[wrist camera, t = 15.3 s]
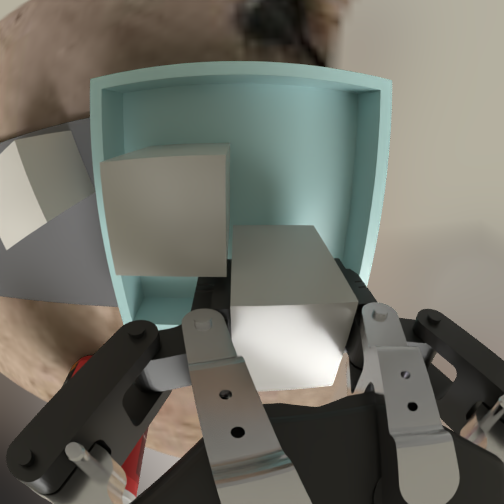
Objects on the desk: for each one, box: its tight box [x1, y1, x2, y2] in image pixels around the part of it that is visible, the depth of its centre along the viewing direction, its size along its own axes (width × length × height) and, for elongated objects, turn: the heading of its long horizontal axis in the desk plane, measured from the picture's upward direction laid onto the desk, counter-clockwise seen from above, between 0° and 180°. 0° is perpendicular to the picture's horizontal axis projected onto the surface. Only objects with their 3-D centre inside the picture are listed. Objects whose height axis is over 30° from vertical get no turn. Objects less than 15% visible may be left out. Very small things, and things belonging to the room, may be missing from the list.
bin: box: [90, 61, 392, 330], centre depth 14 cm, size 13×13×3 cm
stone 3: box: [230, 225, 358, 391], centre depth 12 cm, size 4×4×6 cm
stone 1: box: [0, 130, 96, 250], centre depth 11 cm, size 4×4×5 cm
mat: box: [0, 118, 118, 307], centre depth 15 cm, size 14×12×1 cm
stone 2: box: [100, 143, 230, 277], centre depth 11 cm, size 4×4×6 cm
